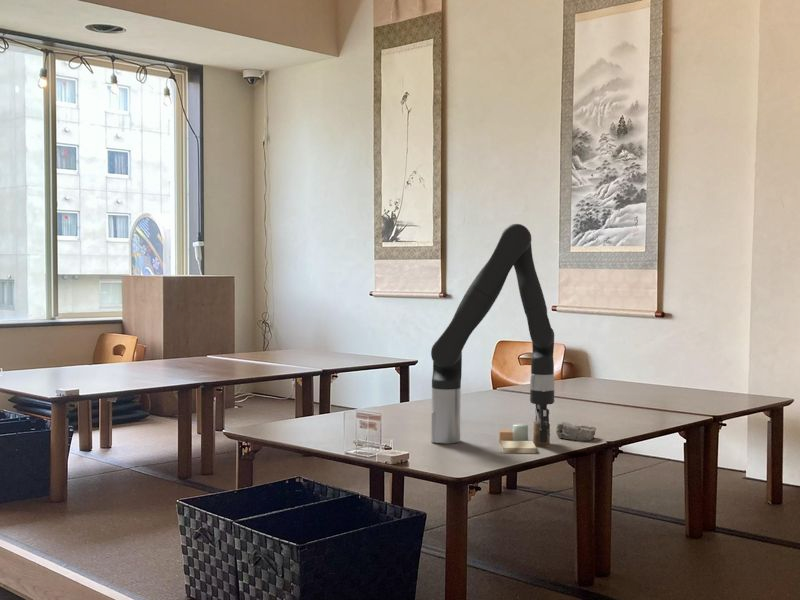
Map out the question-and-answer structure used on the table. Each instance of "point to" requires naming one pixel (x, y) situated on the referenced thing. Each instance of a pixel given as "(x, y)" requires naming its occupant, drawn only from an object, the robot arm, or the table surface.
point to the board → (518, 447)
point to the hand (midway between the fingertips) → (541, 439)
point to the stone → (575, 432)
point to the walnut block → (537, 435)
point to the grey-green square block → (520, 432)
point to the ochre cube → (505, 435)
